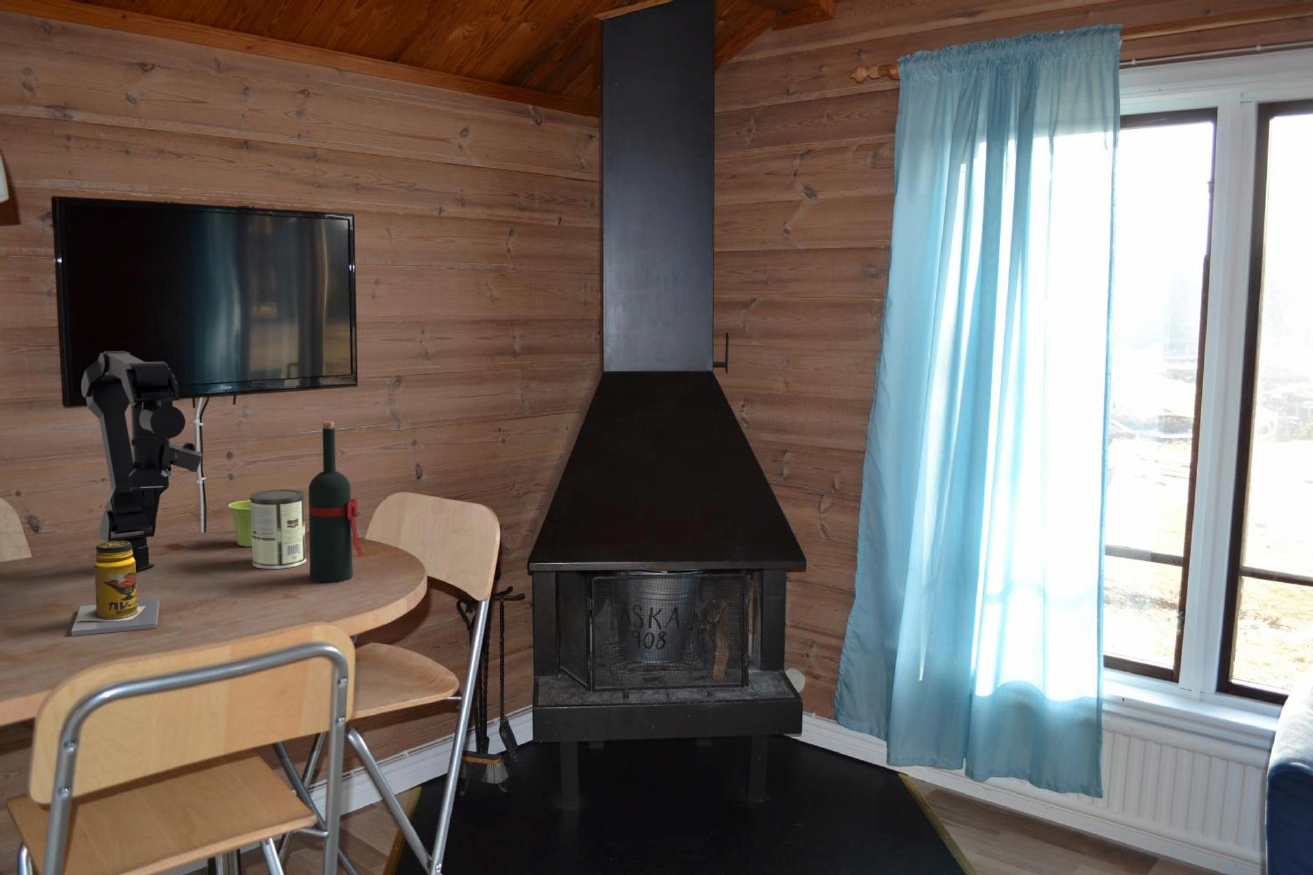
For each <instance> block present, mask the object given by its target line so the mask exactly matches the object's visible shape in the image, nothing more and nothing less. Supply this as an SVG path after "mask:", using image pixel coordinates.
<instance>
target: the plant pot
mask: <svg viewBox="0 0 1313 875" xmlns="http://www.w3.org/2000/svg"><path fill="white" fill-rule="evenodd" d="M227 505H228V508H229V509H230V512H231V515H232V518H233V523H234V524H233V525H234V529H235V537H236V541H237V544H238V546H240V547H246V548H247V547H248V548H249V547H252V527H251V500H240V501H235V502H231V503H229V504H227Z"/></svg>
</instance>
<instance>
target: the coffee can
mask: <svg viewBox="0 0 1313 875" xmlns="http://www.w3.org/2000/svg"><path fill="white" fill-rule="evenodd" d="M305 494H306V493H305V492H304V491H302V490H298V489H291V488H290V489H288V488H283V489H281V488H280V489H278V488H277V489H267V490H261V491H256V492H253V493H251V494H250V495H249V499H250V500H249V501H251V527H252V546H251V548H252V549H251V550H252V565H253V567H255V568H258V569H263V570H267V569H268V570H279V569H280V570H282V569H289V568H295V567H299V566H301V565H304V564H305V563H306V562H307V558H306V553H307V552H306V529H305V528H306V524H305V521H306V519H305V497H306V496H305Z"/></svg>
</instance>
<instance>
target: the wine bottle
mask: <svg viewBox="0 0 1313 875" xmlns="http://www.w3.org/2000/svg"><path fill="white" fill-rule="evenodd" d="M322 464H323V465H322V466H323V467H322V468H323V470H322V471H321V472H319V473H318V474H316V475H315V476H313V478H312V479H311V481H310V483H309V485H308V527H309V528H308V529H309V530H308V532H309V534H308V535H309V537H308V539H309V540H308V541H309V580H310V581H312V582H315V583H321V584H331V583H330V582H335V583H341V582H340V581H342V582H345V581H344V580H346V581H348V580H347V579H349V578H351V579H352V578H353V576H354V572H353V569H354V566H353V546H354V547H355V550H356V552H357V553H358V556H359V558H362V557H361V555H362V556H365V555H364V553H363V551H362V549H361V546H360V543H359V537H358V530H357V521H356V520H357V519H356V518H357V517H358V499H357V498H358V497H353V498H351V497H352V494H351V493H352V492H351V491H352V488H351V483H350V480H349V479H348V478H347V477H346V476H345V474H342V473H341V472H339V471H337V470H336V428H335V421H332V420H331V421H329V420H328V421H327V420H325V421H323V422H322ZM349 580H350V579H349ZM328 582H329V583H328Z"/></svg>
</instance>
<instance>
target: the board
mask: <svg viewBox="0 0 1313 875" xmlns="http://www.w3.org/2000/svg"><path fill="white" fill-rule="evenodd" d="M137 602H138V606H146V607H145V608H144V609H143V610H142V611H141V612H140V613H139V614H138V615H137V616H136V617H134V618H133V619H132V620H121V621H97V620H96V621H77V620H78V619H80V618H81V617H82V616H84V615H85V614H86V613H87V612H88V611H89V610H90V609H91V608H92V607H96V604H90V605H89V604H88V605H80V606H79V610H78V612H77V615H76V618H75V620H74V623H73V626H72V628H71V637H75V636H84V635H85V636H86V635H97V634H107V633H117V632H118V633H119V632H130V631H138V630H139V631H140V630H149V629H150V630H151V629H152V630H153V629H157V627H158V626H157V624H158V619H159V610H160V599H148V600H137ZM138 606H137V607H138Z"/></svg>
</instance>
